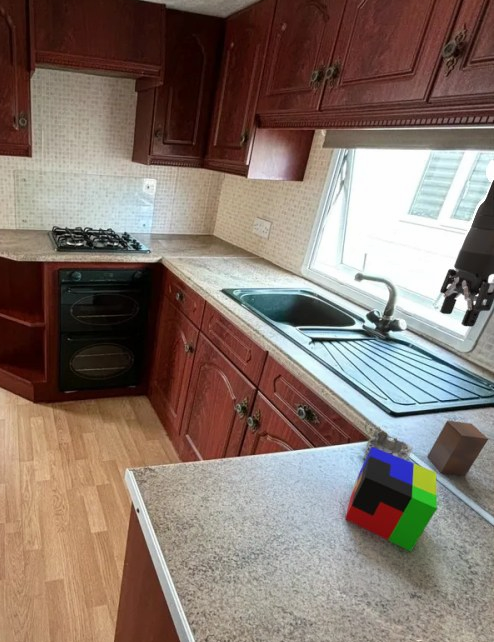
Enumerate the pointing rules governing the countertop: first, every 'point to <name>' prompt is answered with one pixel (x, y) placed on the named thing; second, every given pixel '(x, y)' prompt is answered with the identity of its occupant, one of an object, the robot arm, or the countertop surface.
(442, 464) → the walnut block
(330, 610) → the countertop surface
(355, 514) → the puzzle toy
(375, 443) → the egg carton
